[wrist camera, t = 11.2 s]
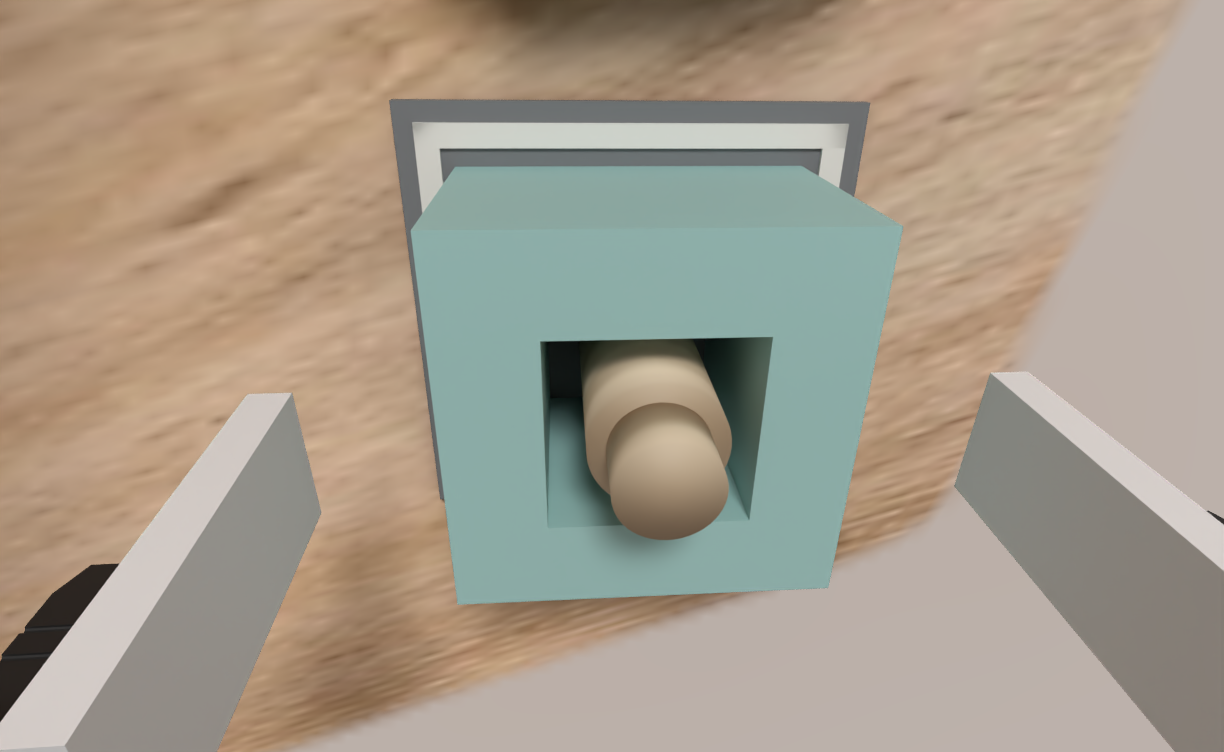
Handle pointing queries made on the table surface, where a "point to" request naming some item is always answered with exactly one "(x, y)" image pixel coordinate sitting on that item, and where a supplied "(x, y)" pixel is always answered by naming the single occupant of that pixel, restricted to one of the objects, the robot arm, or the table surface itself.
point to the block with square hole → (647, 309)
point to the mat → (611, 156)
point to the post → (655, 434)
